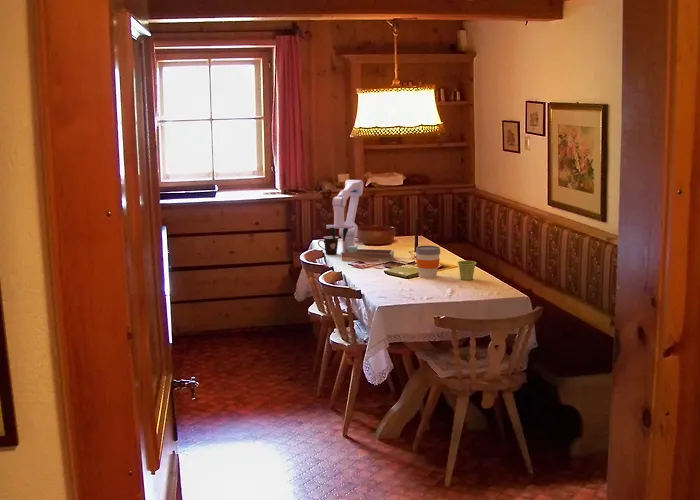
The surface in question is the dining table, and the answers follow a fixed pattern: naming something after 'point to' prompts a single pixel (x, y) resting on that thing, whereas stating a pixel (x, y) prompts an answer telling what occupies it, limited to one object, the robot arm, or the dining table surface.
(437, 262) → the reusable coffee cup
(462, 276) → the plant pot
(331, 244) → the coffee mug
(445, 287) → the dining table surface
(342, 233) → the robot arm
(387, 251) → the trap tray
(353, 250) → the teal block
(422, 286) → the dining table surface
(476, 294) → the dining table surface
